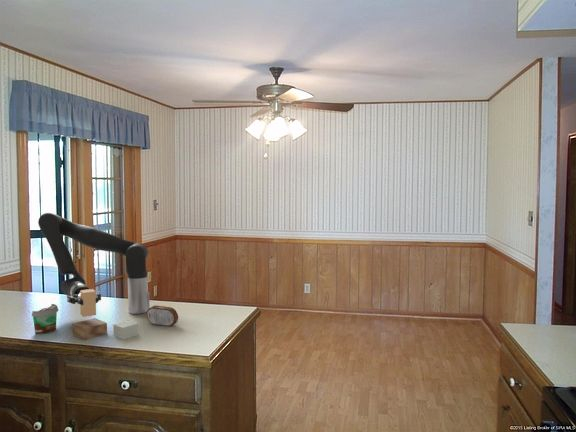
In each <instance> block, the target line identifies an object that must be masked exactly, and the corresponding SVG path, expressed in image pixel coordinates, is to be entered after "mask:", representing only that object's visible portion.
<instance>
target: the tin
mask: <svg viewBox="0 0 576 432" xmlns="http://www.w3.org/2000/svg"><path fill="white" fill-rule="evenodd" d="M146 318H147V320H148V322H149V323H150V324H152V325H155V326H163V327H173V325H176V324H177V323H178V320H179V314H178V312H177V310H176V309H175V308H174V307H171V306H162V305H158V304H157V305H152V306H151V307H150V308H149V309H148V311H147V312H146Z"/></svg>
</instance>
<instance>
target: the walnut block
mask: <svg viewBox="0 0 576 432" xmlns="http://www.w3.org/2000/svg"><path fill="white" fill-rule="evenodd" d="M71 331H72V332H71V333H72V335H71V336H74V337H76V338H78V339H80V340H81V341H82V340H83V341H85V340H90V339H94V338H97V337H101V336H104V335H105V336H106V335H107V334H108V323H107V322H105V321H102V320H100V319H99V318H96V317H94V318H90V319H87V320H82V321H78V322H73V323H72V324H71Z"/></svg>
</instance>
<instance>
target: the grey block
mask: <svg viewBox="0 0 576 432" xmlns="http://www.w3.org/2000/svg"><path fill="white" fill-rule="evenodd" d="M138 335H139V323H138V322H135V321H132V320H125V321H124V320H123V321H120V322H117V323H114V324H113V337H116V338H119V339H121V340H126V339H129V338H133V337H135V336H138Z"/></svg>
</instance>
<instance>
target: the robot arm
mask: <svg viewBox="0 0 576 432" xmlns="http://www.w3.org/2000/svg"><path fill="white" fill-rule="evenodd" d="M37 223H38V227H39V228H40V230H41V232H42V233H43V234H42V235H44V238H45V239H46V241H47V243H48V246H49V247H50V249H51V252H52V255H53V257H54V260H55V263H56V265H57V269H58V272H59V273H60V275H61V276H67V275H72V276H73V277H71V278H69V279H66V280H64V281H62V282H61V283H60V290H61V292H62V293H63V294H64V295H65V296H66V298H67V299H66V300H67V302H68V303H70V304H72V305H75V304H78V305H80V304H81V305H83V300H82V298H81V297H80V290H87V289H91V288H90V287H89V286H87V283H86V280H85V279H84V278H83V276H82V274H81V273H80V272H79V271H78V269H77V267H76V265H75V262H74V259H73V256H72V254H71V252H70V250H69V248H68V246H67V245H66V244H65V242H64V239H63V236H64V237H67V238H70V239H72V240H74V241H76V242H78V243H79V244H81V245H83V246H86V247H89V248H93V249H95V250H99V251H102V252H103V251H104V252H111V253H116V254H119V255H123V256H125V269H126V274H127V299H128V300H127V303H128V306H127V307H128V308H127V309H128V313H129V314H132V315H139V314H144V313H147V311H148V309H149V308H151V307H150V305H151V304H150V291H148V290H149V288H148V283H149V282H148V270H147V265H146V264H147V258H148V255H149V250H148V248H147V247H146V245H144V244H142V243H139V242H135V241H130V240H127V239H124V238H121V237H119V236H116V235H114V234H112V233H109V232H106V231H105V230H101V229H98V228H95V227H92V226H89V225H83V224H80V223H79V224H78V223H76V222H72V221H71V220H68V219H67V218H64V217H63V216H60V215H58V214H56V213H53V212H45V213H42V214H41V215H40V216H39V219H38V222H37ZM99 301H102V292H101V291H96V304H98V303H99Z"/></svg>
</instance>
